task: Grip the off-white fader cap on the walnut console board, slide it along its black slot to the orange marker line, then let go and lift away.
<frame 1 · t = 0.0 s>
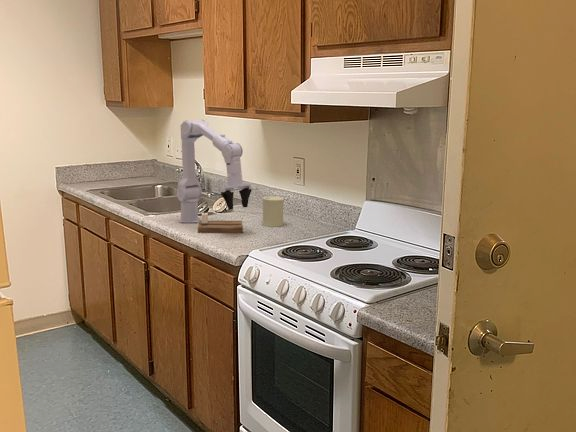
hand: (238, 208, 236), 11 cm above the countertop, tool pointing down, fingers open, 7 cm apart
can: (272, 224, 258), on the countertop
console board: (220, 228, 247), on the countertop
fader: (204, 218, 245), point 4 cm above the countertop, slide at 0.0 cm
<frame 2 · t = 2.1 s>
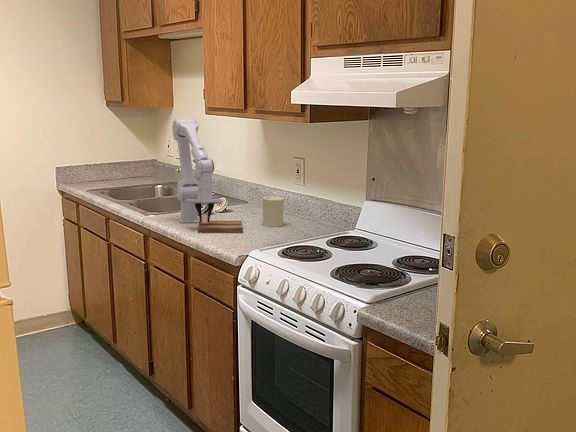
hand: (204, 221, 245), 3 cm above the countertop, tool pointing down, fingers closed on fader, 2 cm apart
fader: (204, 218, 245), point 4 cm above the countertop, slide at 0.0 cm, touching gripper
everything else where it was.
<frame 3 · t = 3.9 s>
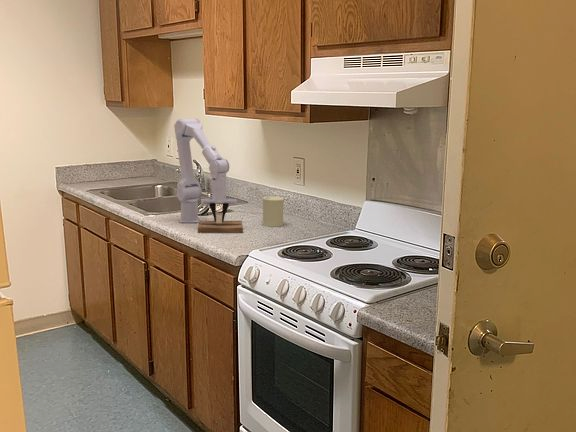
hand: (219, 221, 246), 3 cm above the countertop, tool pointing down, fingers closed on fader, 2 cm apart
fader: (219, 218, 246), point 4 cm above the countertop, slide at 5.9 cm, touching gripper
everything else where it was.
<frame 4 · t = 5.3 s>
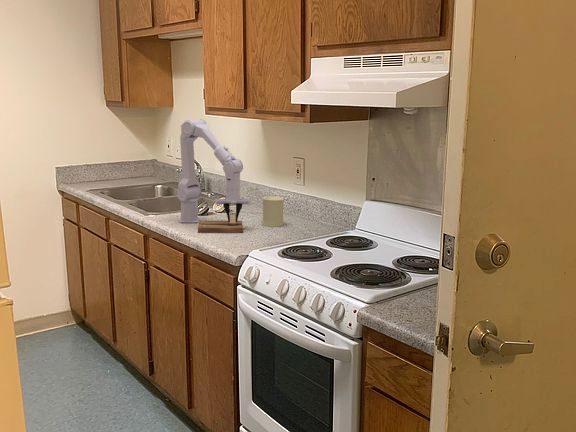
hand: (232, 221, 247), 3 cm above the countertop, tool pointing down, fingers closed on fader, 2 cm apart
fader: (232, 218, 246), point 4 cm above the countertop, slide at 11.5 cm, touching gripper
everything else where it was.
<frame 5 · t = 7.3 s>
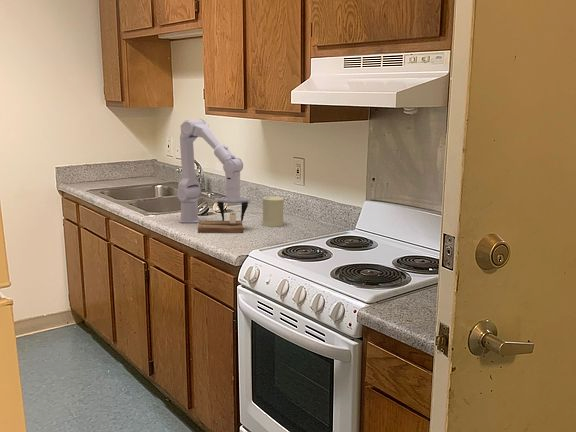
hand: (232, 220, 247), 4 cm above the countertop, tool pointing down, fingers open, 7 cm apart
fader: (232, 218, 247), point 4 cm above the countertop, slide at 11.5 cm
everything else where it was.
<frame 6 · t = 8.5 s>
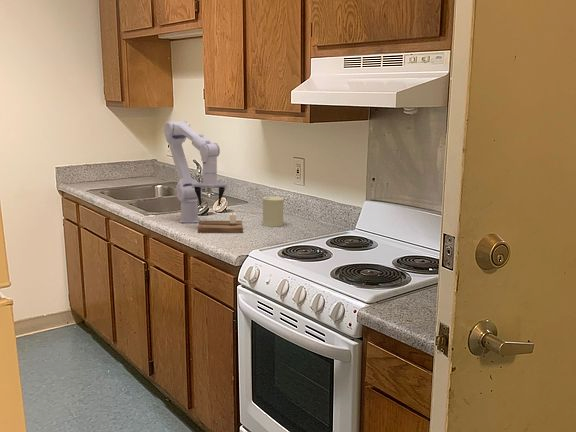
hand: (209, 205, 247), 9 cm above the countertop, tool pointing down, fingers open, 7 cm apart
nothing on the countertop moved.
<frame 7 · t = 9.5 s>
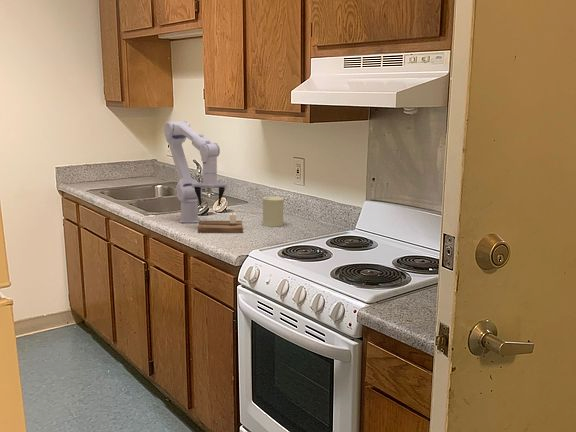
hand: (209, 205, 247), 9 cm above the countertop, tool pointing down, fingers open, 7 cm apart
nothing on the countertop moved.
at the end: fader slide at 11.5 cm; the gripper is holding nothing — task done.
